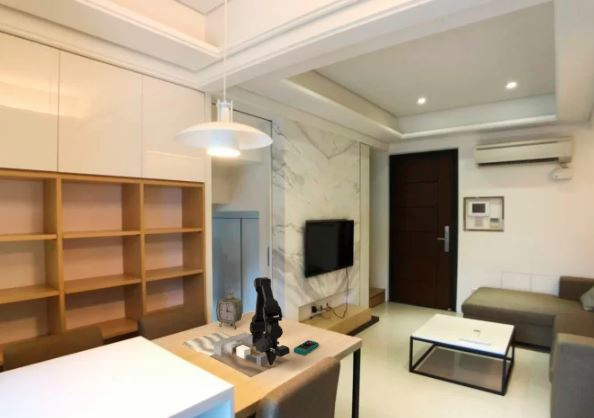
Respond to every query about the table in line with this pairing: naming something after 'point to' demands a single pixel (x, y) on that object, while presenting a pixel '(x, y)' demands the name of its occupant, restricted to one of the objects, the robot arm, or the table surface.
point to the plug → (245, 353)
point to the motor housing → (231, 344)
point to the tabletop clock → (229, 309)
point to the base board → (233, 361)
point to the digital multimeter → (306, 347)
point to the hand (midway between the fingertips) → (270, 365)
